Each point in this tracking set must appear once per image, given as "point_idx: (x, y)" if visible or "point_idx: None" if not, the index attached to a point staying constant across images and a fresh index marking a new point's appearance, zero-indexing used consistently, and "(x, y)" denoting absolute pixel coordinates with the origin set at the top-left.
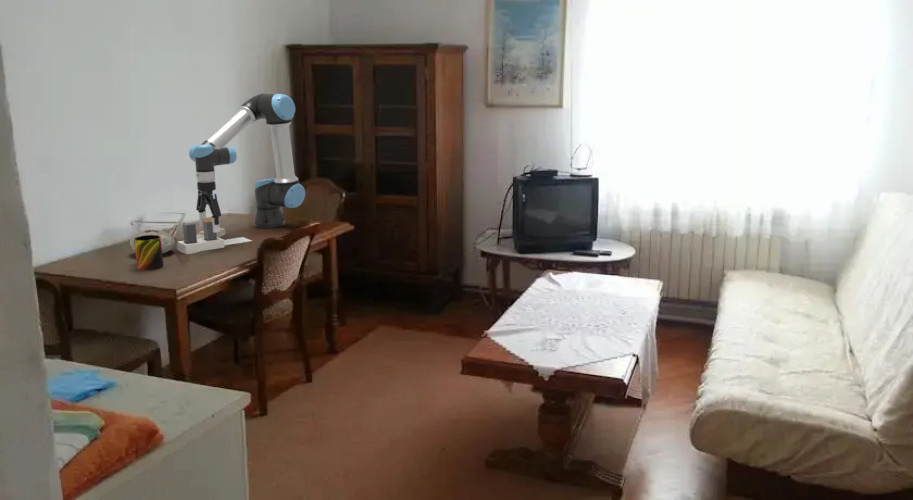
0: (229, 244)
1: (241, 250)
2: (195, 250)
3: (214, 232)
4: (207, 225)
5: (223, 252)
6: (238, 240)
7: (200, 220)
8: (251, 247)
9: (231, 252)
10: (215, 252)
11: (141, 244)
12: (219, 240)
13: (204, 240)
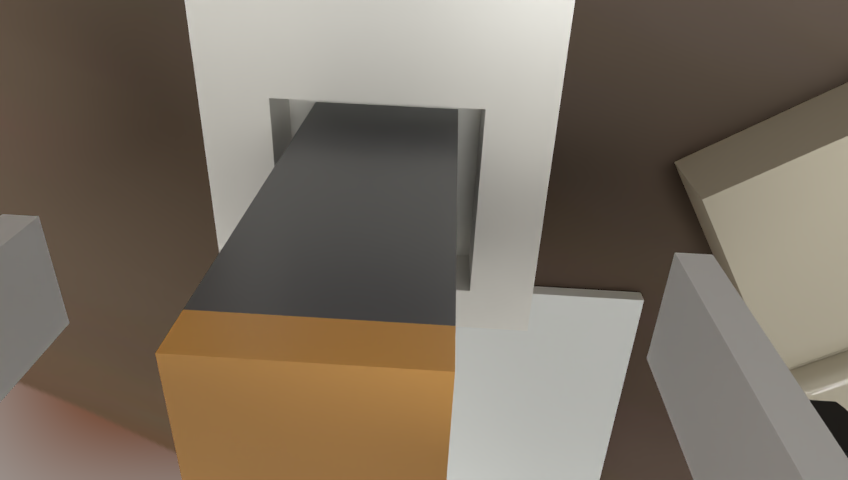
0: None
1: None
2: None
3: (2, 225)
4: (214, 272)
5: (56, 143)
6: (471, 476)
7: (731, 359)
8: (142, 433)
9: (11, 209)
10: (107, 69)
11: None
12: (219, 252)
13: (341, 82)
